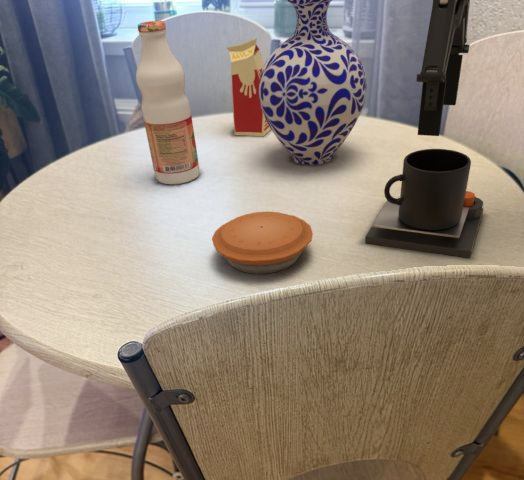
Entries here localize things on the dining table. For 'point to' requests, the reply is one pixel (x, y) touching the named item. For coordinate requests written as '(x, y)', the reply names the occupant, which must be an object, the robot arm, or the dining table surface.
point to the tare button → (469, 199)
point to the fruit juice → (165, 108)
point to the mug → (431, 188)
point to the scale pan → (392, 221)
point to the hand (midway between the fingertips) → (437, 118)
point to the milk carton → (247, 89)
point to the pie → (262, 241)
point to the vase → (312, 87)
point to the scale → (432, 236)
